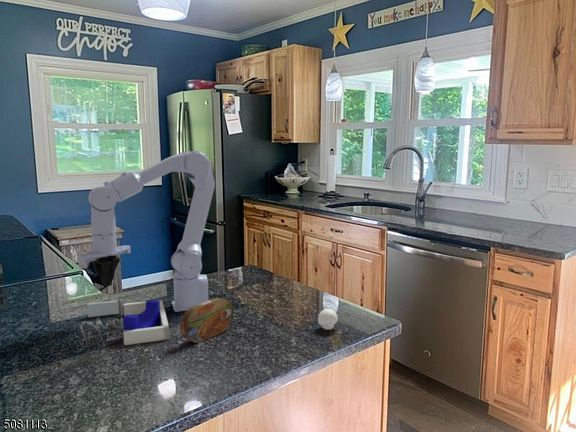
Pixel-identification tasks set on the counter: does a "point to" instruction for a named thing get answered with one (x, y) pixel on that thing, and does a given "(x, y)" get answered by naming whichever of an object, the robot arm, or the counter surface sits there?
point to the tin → (206, 319)
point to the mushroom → (327, 319)
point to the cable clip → (144, 317)
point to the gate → (105, 308)
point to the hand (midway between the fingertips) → (106, 285)
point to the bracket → (145, 333)
